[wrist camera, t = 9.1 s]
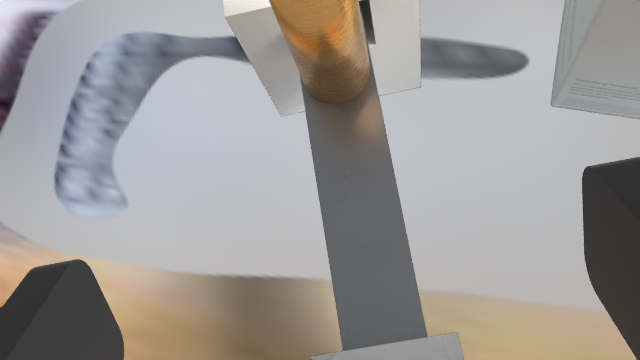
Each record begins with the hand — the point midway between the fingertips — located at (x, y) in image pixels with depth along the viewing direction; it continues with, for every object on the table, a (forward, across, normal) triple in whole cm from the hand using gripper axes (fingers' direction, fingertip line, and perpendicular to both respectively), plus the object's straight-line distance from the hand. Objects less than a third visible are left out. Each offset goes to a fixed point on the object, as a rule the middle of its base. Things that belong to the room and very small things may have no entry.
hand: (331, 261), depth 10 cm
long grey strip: (+15, 0, +7) cm, 17 cm away
